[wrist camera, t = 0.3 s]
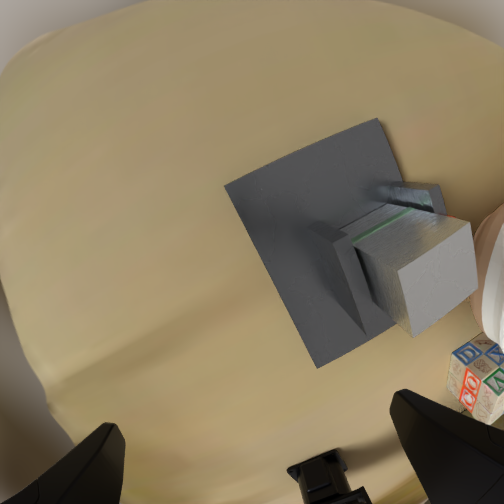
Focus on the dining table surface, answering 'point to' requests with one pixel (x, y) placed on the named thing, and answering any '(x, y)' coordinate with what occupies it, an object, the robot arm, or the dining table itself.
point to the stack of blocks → (479, 378)
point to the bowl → (490, 276)
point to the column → (415, 263)
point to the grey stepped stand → (326, 231)
